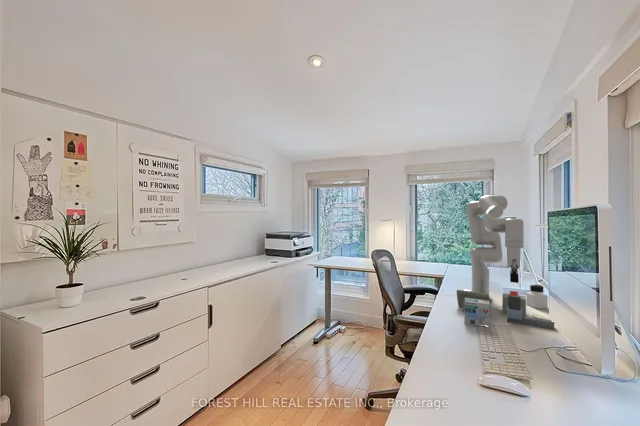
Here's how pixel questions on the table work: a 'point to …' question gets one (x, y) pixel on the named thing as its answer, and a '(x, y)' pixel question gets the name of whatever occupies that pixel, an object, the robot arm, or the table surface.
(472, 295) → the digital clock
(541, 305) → the medicine bottle
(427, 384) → the table surface
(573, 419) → the table surface
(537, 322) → the rail
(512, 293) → the gauge button
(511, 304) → the carriage
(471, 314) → the light bulb box
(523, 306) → the cabinet
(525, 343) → the table surface
